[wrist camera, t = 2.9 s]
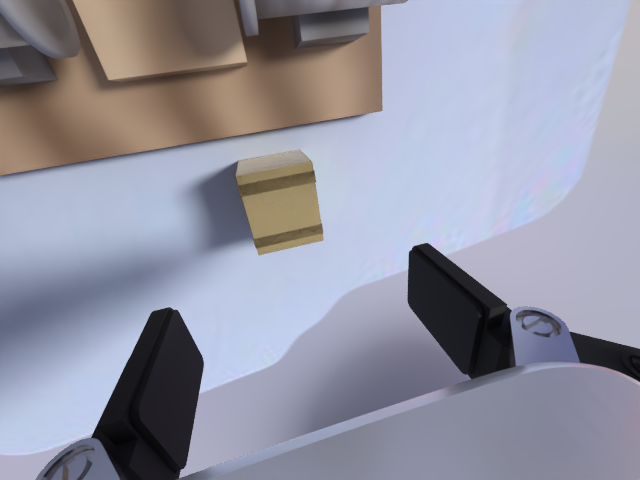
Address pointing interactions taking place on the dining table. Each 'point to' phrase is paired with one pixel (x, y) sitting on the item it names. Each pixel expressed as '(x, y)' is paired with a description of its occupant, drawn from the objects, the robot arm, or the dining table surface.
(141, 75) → the shaft jig
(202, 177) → the dining table surface
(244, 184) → the block
